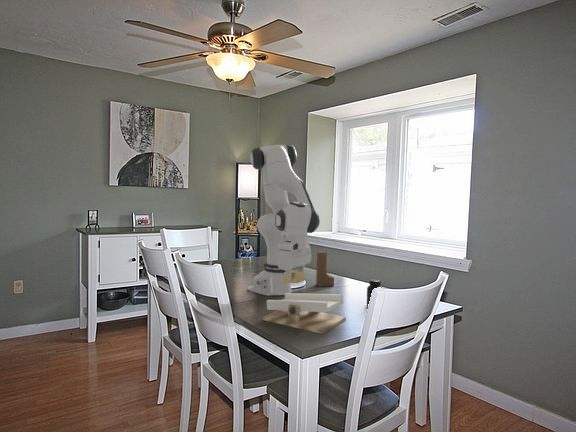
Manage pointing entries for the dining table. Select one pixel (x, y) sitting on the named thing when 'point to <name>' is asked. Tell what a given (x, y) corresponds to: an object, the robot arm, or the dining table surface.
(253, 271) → the dining table surface
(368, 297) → the supplement bottle
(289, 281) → the block
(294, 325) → the stand
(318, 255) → the wooden block
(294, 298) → the beam
